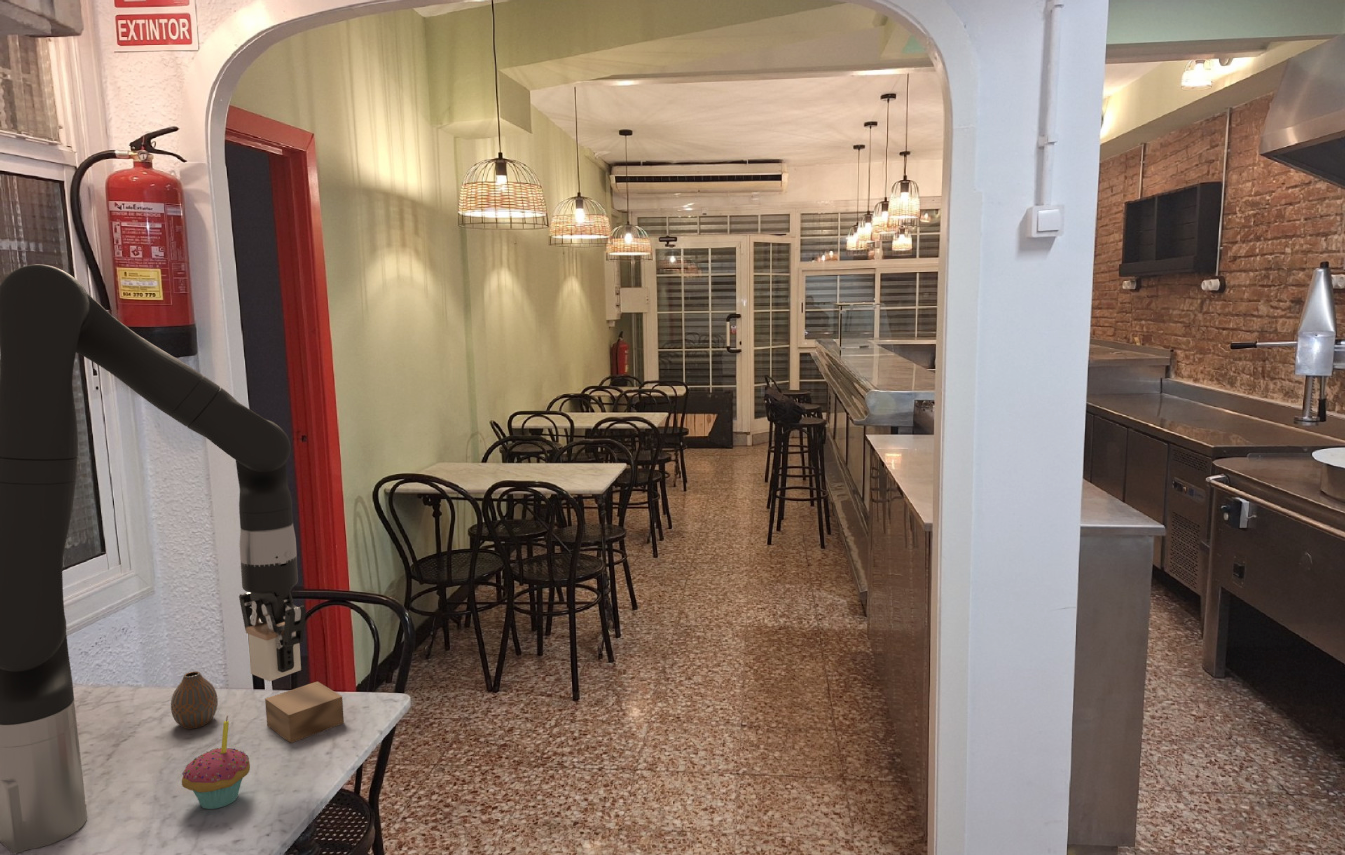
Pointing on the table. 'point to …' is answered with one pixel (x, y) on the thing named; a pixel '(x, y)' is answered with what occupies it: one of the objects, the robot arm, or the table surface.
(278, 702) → the brown wooden block
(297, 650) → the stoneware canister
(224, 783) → the cupcake
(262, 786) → the table surface
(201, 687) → the vase
